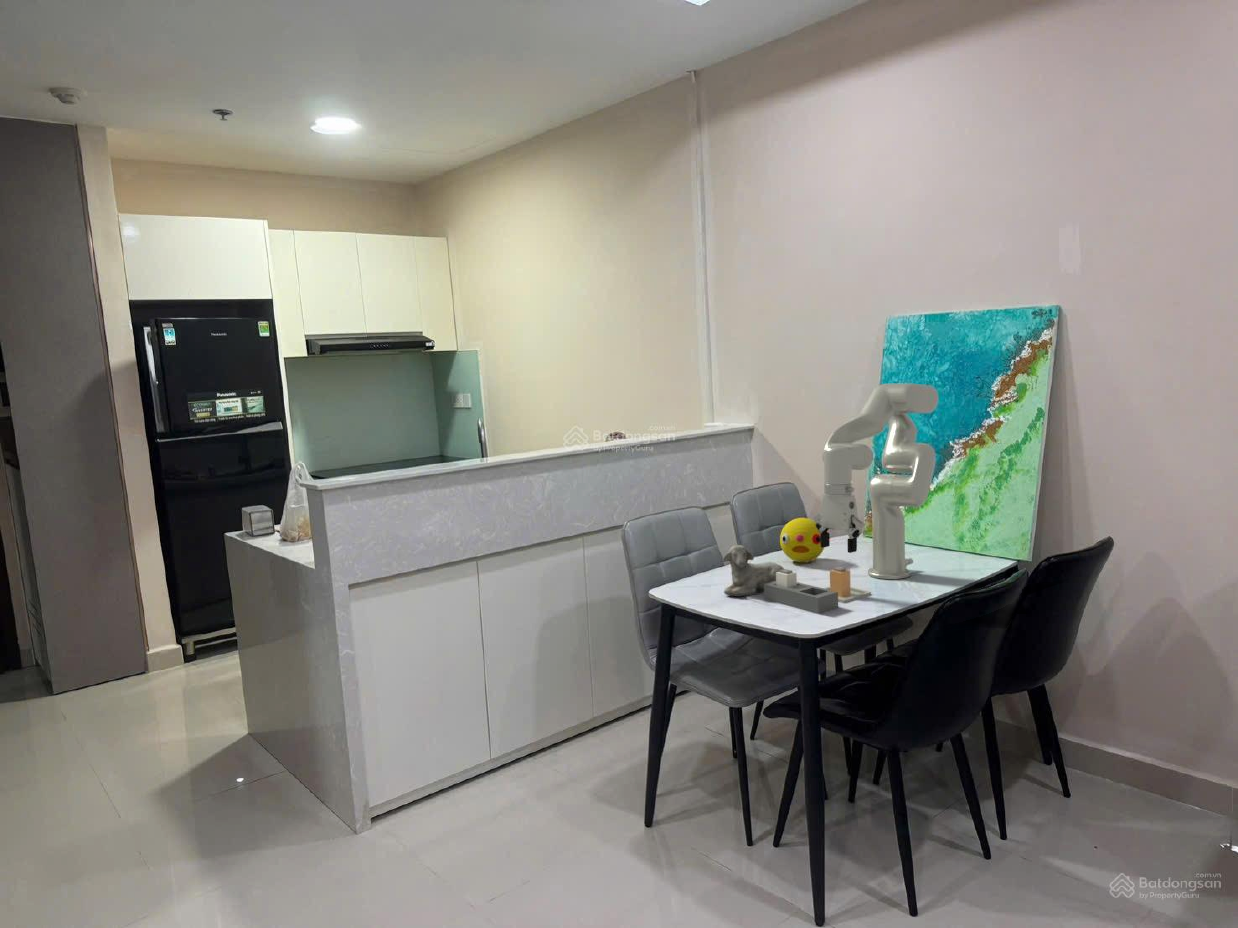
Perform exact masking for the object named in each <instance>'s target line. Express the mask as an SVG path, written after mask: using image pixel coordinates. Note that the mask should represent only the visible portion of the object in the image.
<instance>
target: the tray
mask: <svg viewBox="0 0 1238 928" xmlns="http://www.w3.org/2000/svg"><path fill="white" fill-rule="evenodd" d="M822 588H823V589H828V590H830V585H829V586H827V587H822ZM850 590H851V594H850V595H847V596H844V597H839V596H838V603H842V604H845V603H848V602H852V601H855V600H857V599H861V598H864V597H867V596H871V595H872V591H868V590H864V589H861V588H857V587H856V588H855V587H852V586H850Z"/></svg>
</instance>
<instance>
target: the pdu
mask: <svg viewBox="0 0 1238 928" xmlns="http://www.w3.org/2000/svg"><path fill="white" fill-rule="evenodd" d="M797 579H798V578H797V571H793V570H792V569H788V568H784V570H780V572H776V581H773V582H769V583H766V584H764V592H763V599H764V600H765V601H770V602H774V603H776V604H780V605H784V606H787V607H791V608H794V609H798V610H801V611H805V612H810V613H812V614H816V615H820V614H824V613H826V612H827V613H828V612H830V611H832V610H833V611H834V610H836V609H839V602H838V592H836V591H832V590H828V589H823V588H824V587H819V586H815V585H811V584H806V583H802V582H798V581H797Z"/></svg>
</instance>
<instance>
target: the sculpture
mask: <svg viewBox="0 0 1238 928" xmlns="http://www.w3.org/2000/svg"><path fill="white" fill-rule="evenodd" d="M754 558H755V557H754V555H753V553H752V552H751V551H750V550H748V549H747V548H746V547H745V546H743V545H741V544H736V545H733V546H731V547H730V548H729V550H728V552H727V553H726V554H724V556H723V557H722V559H721V562H723V563H725V562H730V568H731V580H732V583H731V585H729V586H727V587H725V589H724V591H723V593H724V594H725V596H733V597H744V596H751V595H758V594H761V593H764V584H766V583H769V582H773V581H776V572H780V570H784V569H785V568H784V567H783V566H782V565H780V564H778V563H776V562H772V561H767V562H762V563H761V562H760V563H751V562H748V561H753V560H754Z"/></svg>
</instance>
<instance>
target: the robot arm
mask: <svg viewBox="0 0 1238 928" xmlns="http://www.w3.org/2000/svg"><path fill="white" fill-rule="evenodd" d="M938 404H939V394H938V390H937V389H936V388H935V387H934V386H933V385H930V384H929V385H928V384H927V385H926V384H919V383H918V384H917V383H910V382H909V383H908V382H907V383H906V382H905V383H882V384H879V385H878V386H876V387H875V388H873V390H872V392H871V393H870V395H869V397H868V399H867V400H866V402H865V404H864V405H863V407H862V409H861V410H860V412H859V414H858V415H857V416H855V417H853V418H851V419H849V420H848V421H847V422H845V423H843V424H842V425H841V426H838V427H837V428H836V429H835V430H834V431H833V432H832V433H831V434H830V437H829V438H828V440H827V441H826V443H825V445H824V448H823V450H822V454H821V455H822V461H823V465H824V466H823V470H824V472H823V474H824V475H823V477H824V478H823V479H824V481H823V482H824V487H823V489H824V491H823V494H822V498H821V504H820V513H819V514H818V515H816V516H813V519H812V520H813V521H814V522H815V524H816V528H817V529H818V530H819V531H818V532H819V534H820V542H821V548H824V549H825V548H829V547H830V544H831V543H830V539H831V538H830V532H829V530H834V531H839V532H840V531H842V532H845V533H846V535H847V536H848V538H847V553H850V554H851V553H856V552H857V551H858V538H860V536H861V534H862V533H863V530H864V527H865V523H864V522H863V521H861V520H860V519H859V518H858V517H859V516H858V506H857V501H856V497H855V495H854V494H853V493H854V492H855V487H854V486H853V478H852V476H853V473H852V472H853V471H854V470H855V471H863V470H866V469H867V468H869V467H870V466H871V465H872V464H873V461H874V452H873V449H872V448H871V447H870V446H869V445H866V444H863V443H855V442H858V441H861V440H865V439H869V438H872V437H874V436H875V437H876V436H877V435H879V434H882V433H883V432H884V431H885V429H886V427H887V425H888V431H887V436H886V441H885V445H884V447H883V451H882V455H881V467H882V468H883V469H884V470H885V471H887V472H890V473H879V474H876V475H874V476H872V478H871V479H870V480H869V483H868V495H869V500H870V505H871V514H872V515H871V516H872V517H871V518H872V567H870V568H869V569H868V570H867V575H869V576H870V577H873V578H875V579H883V580H899V579H907V578H908V577H910V576H911V571H910V569H908V568H907V566H909V565H912V564H914V560H913V558H912V557H909V558H906V547H905V546H906V537H905V536H906V535H905V534H906V533H905V532H906V530H905V529H906V528H905V527H906V521H905V515H904V513H903V512H902V510H901V509H900V507H907V508H909V507H910V508H919V507H922V506H923V505H924V504H925V503H926V502H927V499H928V497H929V493H930V487H931V484H932V480H933V476H934V472H935V468H936V462H937V461H936V460H937V459H936V452H935V449H934V448H933V446H932V445H930V444H928V443H925V442H924V443H923V442H916V441H917V435H918V429H917V426H916V424H915V423H914V421H913V419H912V418H911V417H910V416H909V414H930V413H933V412H934V410H935V409H937V406H938ZM895 473H896V474H895ZM908 474H911V475H908Z"/></svg>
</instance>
